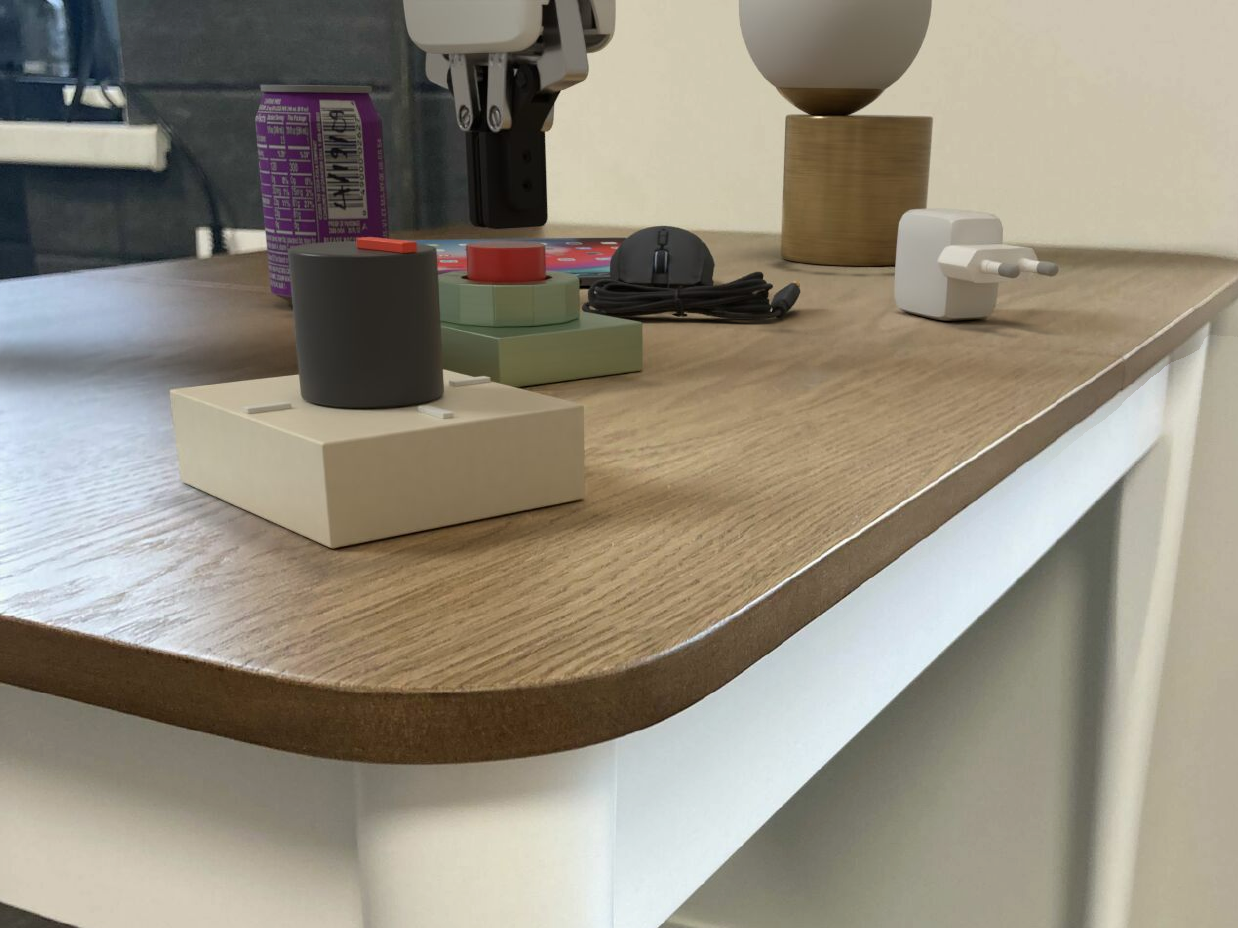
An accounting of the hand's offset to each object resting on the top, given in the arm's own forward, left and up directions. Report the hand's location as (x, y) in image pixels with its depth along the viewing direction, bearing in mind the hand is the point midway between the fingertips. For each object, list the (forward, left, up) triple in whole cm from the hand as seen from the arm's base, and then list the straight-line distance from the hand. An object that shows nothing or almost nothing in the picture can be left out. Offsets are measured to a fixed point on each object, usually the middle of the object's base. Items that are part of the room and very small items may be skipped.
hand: (509, 225), depth 67 cm
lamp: (-25, +48, -6) cm, 54 cm away
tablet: (-33, +26, -6) cm, 43 cm away
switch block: (0, 0, -6) cm, 6 cm away
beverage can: (-24, +4, -6) cm, 25 cm away
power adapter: (+4, +29, -6) cm, 30 cm away
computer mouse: (-11, +22, -6) cm, 25 cm away
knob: (+17, -17, -3) cm, 24 cm away
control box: (+17, -17, -6) cm, 25 cm away
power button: (0, 0, -3) cm, 3 cm away
